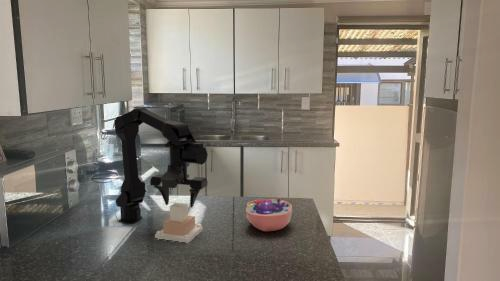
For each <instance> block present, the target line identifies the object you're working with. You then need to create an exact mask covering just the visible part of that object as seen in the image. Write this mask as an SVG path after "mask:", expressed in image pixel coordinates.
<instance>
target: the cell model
mask: <svg viewBox="0 0 500 281" xmlns="http://www.w3.org/2000/svg"><path fill="white" fill-rule="evenodd" d="M245 212H246V219H247V220H248V221H249V222H250V224H251V225H252V226H253V227H254V228H256V229H258V230H259V231H260V232H274V231H278V230H282V229H283V228H285V227H286V226H287V225H289V223H290V221H291V218H292V214H293V205H292V204H291V203H289V202H288V201H286V200H283V199H280V198H268V199H267V198H266V199H255V200H252V201H248V202H247V203H246V208H245Z"/></svg>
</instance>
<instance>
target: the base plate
mask: <svg viewBox="0 0 500 281" xmlns="http://www.w3.org/2000/svg"><path fill="white" fill-rule="evenodd" d="M203 229H204V228H203V225H202V224H201V223H196V216H193V215H188V218H187V219H185V220H184V221H183V222H178V221H170V216H169V217H168V218H166V219H165V220H163V222H162V229H161V230H157V231H156V233H154V239H155V238H158V239H157V240H159V239H165V240H164V241H166V240H173V241H172V242H174V241H179V242H178V243H181V242H186V243H185V244H189V243H191V241H193V239H194V238H196V237H197V235H199V234H200V233H201V232H203ZM195 236H196V237H195ZM188 242H189V243H188Z"/></svg>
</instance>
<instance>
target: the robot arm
mask: <svg viewBox="0 0 500 281" xmlns="http://www.w3.org/2000/svg"><path fill="white" fill-rule="evenodd" d="M143 123H144V124H146V125H147V126H149V127H151V128H153V129H155V130H157V131H159V132H160V133H161V135H162V136H163V137H164V138H165V139H166V140H168V141H167V142H166V143H164V145H163V146H164V147H165V148H169V149H168V150H169V164H168V165H167V169H166V172H165V173H164V174H163V173H157V174H156V175H155V174H154V175H153V176H151V177H150V181H149V184H150V186H153V188H154V189H157V190H158V191H159V192H160V194H161V196H162V198H163V199H162V200H163V201H164V203H165V206H168V205H169V202H170V189H175V188H177V186H178V185H186V186H189V187H190V189H189V190H188V191H189V193H190V195H189V196H190V200H189V202H190V203H189V205H190V206H189V207H190V208H193V207H194V205H195V202H196V200H197V197H198V195H199V192H200V191H201V190H203V189H205V188H206V187H207V186H208V180H207V179H208V178H206V177H204V176H203V177H201V176H196V177H194V178H191V179H190V174H188V166H190V164H193V165H194V164H195V165H204V164H205V163H206V161H207V160H208V155H209V154H208V151H207V149H206V147H204V143H202V142H199V143H198V142H197V141H196V139H195V137H194V135H193V133H192V131H191V130H190V128H189V125H188V124H187V123H185V122H180V121H177V120H176V121H175V120H169V119H167V118H165V117H163V116H161V115H159V114H156V113H155V112H153V111H150V110H149V109H147V108H146V107H135V108H133V109H132V110H130V111H128V112H126V113H124V114H121V115H119V116H117V117H115V119H114V121H113V126H114V130H115V134H116V136H117V137H118V139H119V140H120V143H121V154H122V155H121V156H122V163H123V164H122V165H123V174H124V179H123V181H122V183H121V186H120V194H119V195H118V197H117V198H116V199H115V206H117V207H119V208H120V219H118V222H120V223H124V224H125V223H126V224H134V223H137V222H138V221H139V220H142V218H143V216H142V213H141V207H140V204H142V203H143V201H144V198H145V197H146V193H147V190H146V183H145V181H142V180H141V178H140V176H139V168H138V167H139V166H138V157H137V147H136V138H137V136H138V134H139V132H140V131H139V130H140V126H141V125H142V124H143Z"/></svg>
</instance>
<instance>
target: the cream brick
mask: <svg viewBox="0 0 500 281" xmlns="http://www.w3.org/2000/svg"><path fill="white" fill-rule="evenodd" d="M188 206H189V204H188V203H185V202H174V203H173V204H171V205H170V206H169V217H170V221H178V222H183V221H184V220H185V219H187V218H188V216H189V215H188V214H189V207H188Z"/></svg>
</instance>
